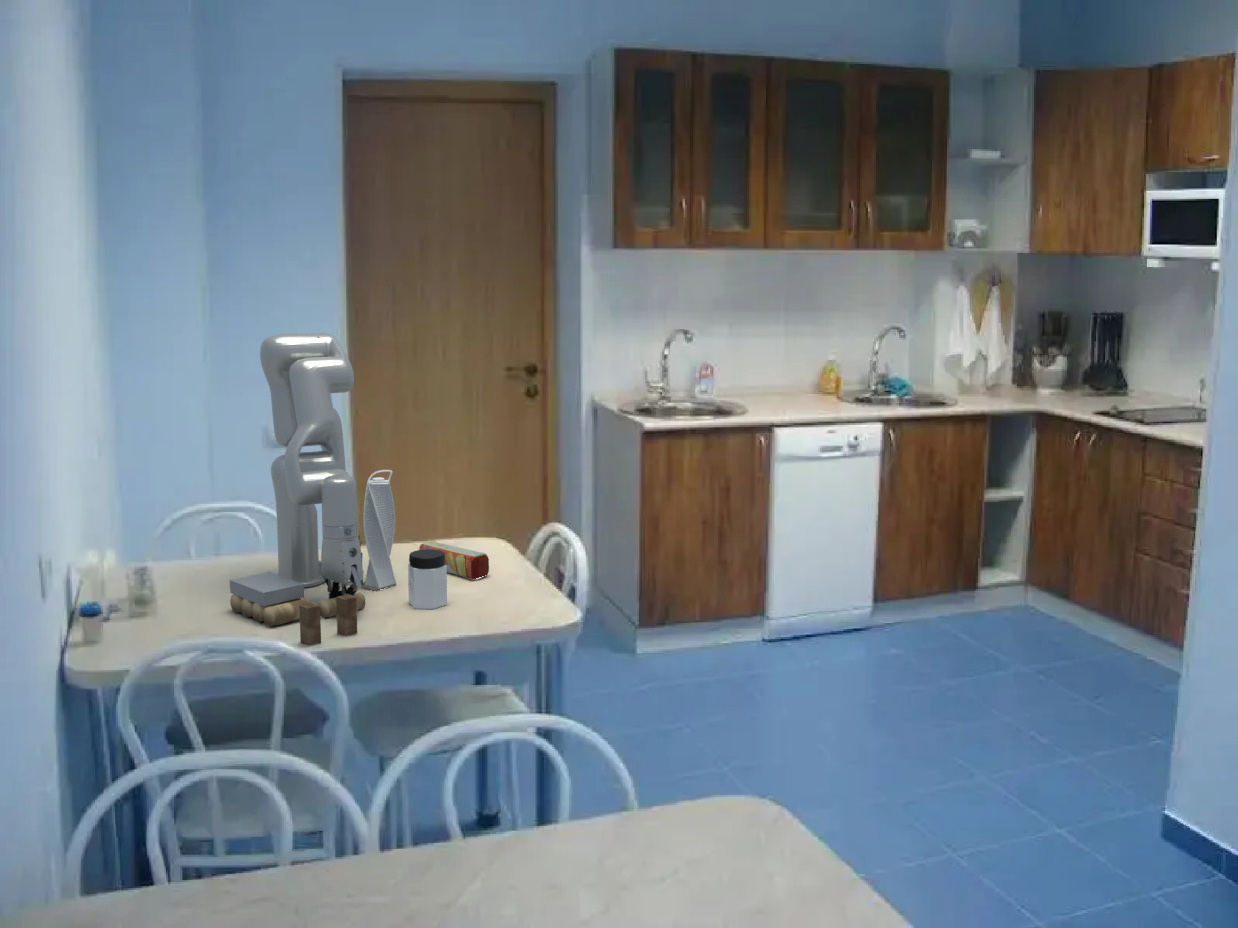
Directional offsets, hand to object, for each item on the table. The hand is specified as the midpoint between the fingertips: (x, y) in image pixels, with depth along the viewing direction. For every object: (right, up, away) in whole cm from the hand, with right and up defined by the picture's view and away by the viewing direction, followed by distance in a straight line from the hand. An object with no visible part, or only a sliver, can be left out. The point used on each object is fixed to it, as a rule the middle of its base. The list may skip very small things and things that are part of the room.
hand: (341, 610), depth 283 cm
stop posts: (+1, -4, -17) cm, 18 cm away
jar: (+18, 0, +8) cm, 20 cm away
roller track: (-15, -1, -2) cm, 15 cm away
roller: (0, +1, 0) cm, 1 cm away
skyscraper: (+4, +3, +22) cm, 23 cm away
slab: (-16, +4, -2) cm, 17 cm away
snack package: (+20, +5, +36) cm, 41 cm away
